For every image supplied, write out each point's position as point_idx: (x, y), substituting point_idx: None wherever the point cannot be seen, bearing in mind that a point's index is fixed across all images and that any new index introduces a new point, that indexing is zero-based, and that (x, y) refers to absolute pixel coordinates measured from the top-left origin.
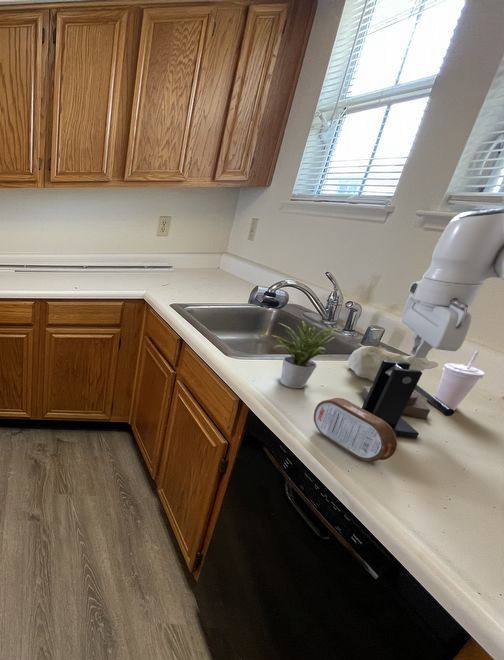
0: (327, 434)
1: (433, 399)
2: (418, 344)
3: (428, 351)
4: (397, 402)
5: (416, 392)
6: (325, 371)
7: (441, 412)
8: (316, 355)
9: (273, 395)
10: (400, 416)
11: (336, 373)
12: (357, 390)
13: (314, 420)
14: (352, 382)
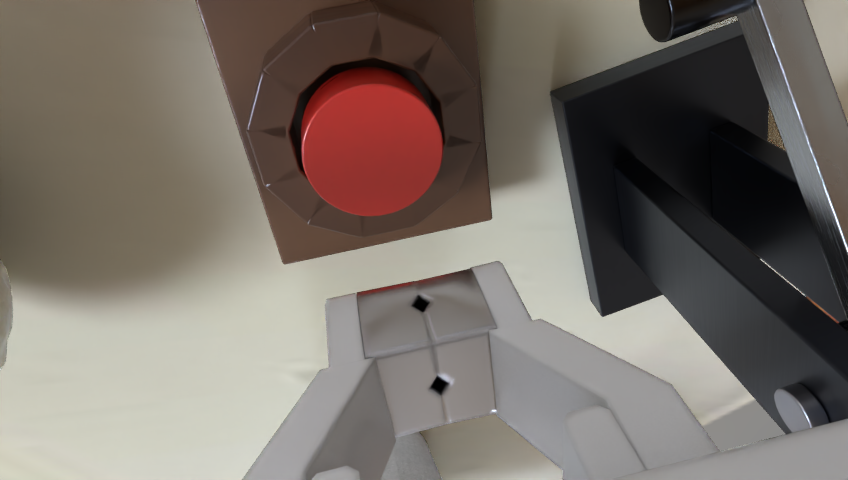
0: None
1: (812, 53)
2: (371, 437)
3: (523, 313)
4: None
5: (325, 26)
6: (47, 392)
7: None
8: None
9: (548, 468)
10: (779, 148)
11: (22, 350)
12: (239, 248)
13: None
14: (113, 275)
